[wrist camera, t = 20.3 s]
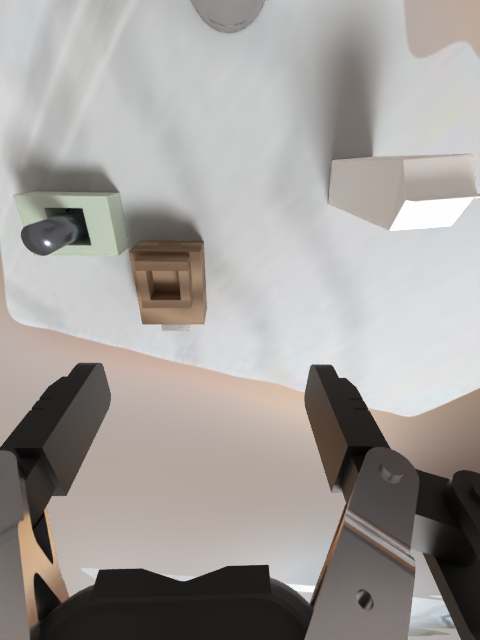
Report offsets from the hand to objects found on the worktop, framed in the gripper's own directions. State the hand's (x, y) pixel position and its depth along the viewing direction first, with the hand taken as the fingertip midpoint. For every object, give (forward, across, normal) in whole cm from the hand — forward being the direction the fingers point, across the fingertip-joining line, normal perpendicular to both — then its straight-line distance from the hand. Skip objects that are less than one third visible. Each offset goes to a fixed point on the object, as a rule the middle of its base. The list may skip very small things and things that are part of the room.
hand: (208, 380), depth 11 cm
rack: (+37, +21, +1) cm, 43 cm away
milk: (+37, -19, -5) cm, 42 cm away
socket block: (+37, +8, +10) cm, 39 cm away
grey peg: (+37, +21, +1) cm, 43 cm away
